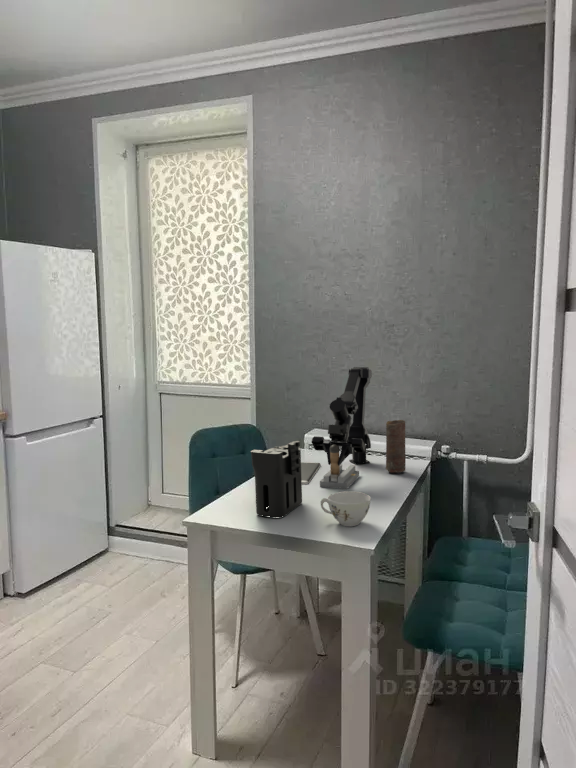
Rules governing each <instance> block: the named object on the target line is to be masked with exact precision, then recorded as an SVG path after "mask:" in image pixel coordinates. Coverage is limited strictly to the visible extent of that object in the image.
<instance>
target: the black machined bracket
mask: <svg viewBox="0 0 576 768" xmlns="http://www.w3.org/2000/svg"><path fill="white" fill-rule="evenodd" d="M301 450H302V449H301V442H300V441H299V440H295V441H291V442H289V443H287V444H285V445H280V446H274V447H270V448H268V449H266V450H262V449H253V450H250V455H251V466H252V469H253V473H254V487H255V489H254V490H255V491H254V492H255V509H256V510H255V512H256V514H259V515H263V516H270V517H282V516H284V517H285V516H287V515H288V514H290V513H291V512H292V511H294V510H295V509H296V508H297V506H298V507H299V506H300V505H302V503H303V489H302V488H303V487H302V486H303V484H302V480H301V462H302V453H301ZM268 506H269V508H268V509H266V507H268ZM286 514H287V515H286ZM259 515H258V516H259ZM282 518H283V517H282Z"/></svg>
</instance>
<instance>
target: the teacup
mask: <svg viewBox="0 0 576 768" xmlns="http://www.w3.org/2000/svg"><path fill="white" fill-rule="evenodd" d="M371 500H372V498H371V496H370V495H368V494H367V493H364V492H362V491H354V490H353V491H352V490H351V491H347V490H346V491H344V490H343V491H340V492H339V491H338V492H334V494H329V495H328V496H327V497H326V498H325V497H324V498H322V499H321V500H320V508H321V509H322V511H324V513H325V514H329V515H332V516H333V518H334V519H335V520H336V521H337V522H338V523H339V524H340V525H341V526H344V527H355V526H358V525H360V524H361V522H362V521H363V520H364V518H365V517H366V516H367V515H368V512H369V510H370V505H371ZM324 503H327V505H328V509H329V510H328V509H326V508H325V507H324Z"/></svg>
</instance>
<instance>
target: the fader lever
mask: <svg viewBox="0 0 576 768" xmlns="http://www.w3.org/2000/svg"><path fill="white" fill-rule="evenodd" d="M340 449H341V447H339V446H338V445H332V446H331V447H330V465H329V466H330V470H331V481H334V482H337V481H338V476H339V475H340V466H338V460H339V457H340V452H341V450H340Z"/></svg>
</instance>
